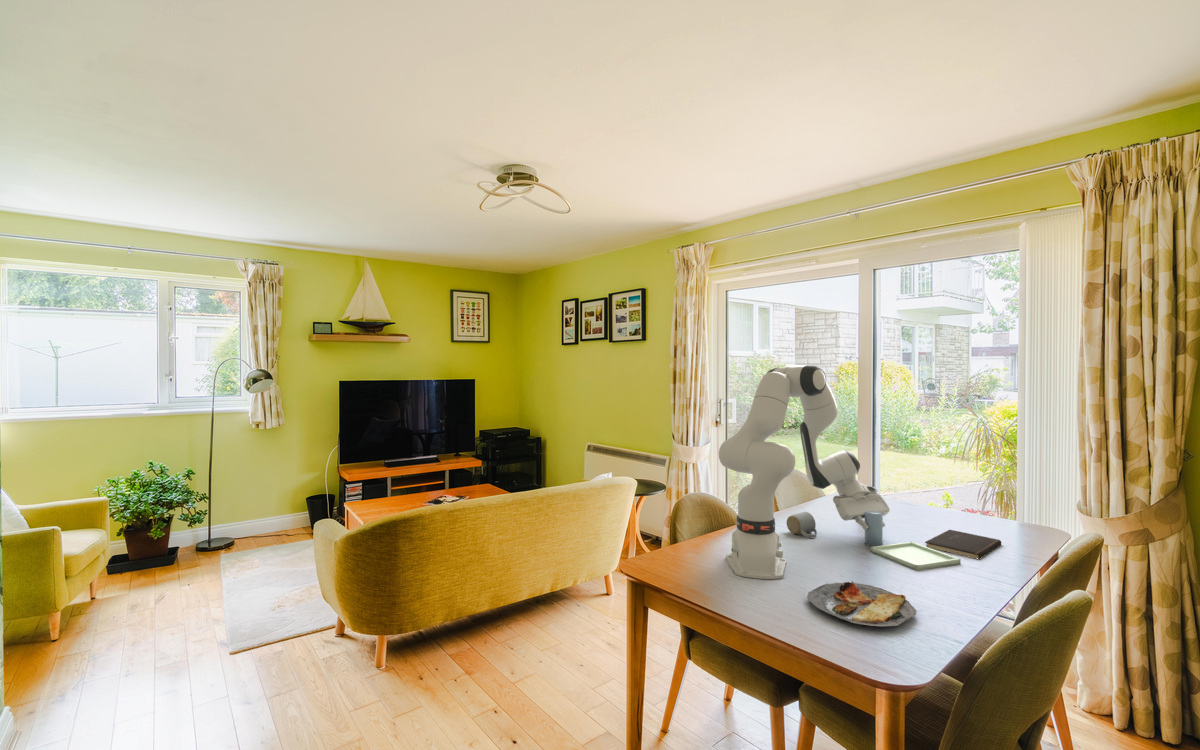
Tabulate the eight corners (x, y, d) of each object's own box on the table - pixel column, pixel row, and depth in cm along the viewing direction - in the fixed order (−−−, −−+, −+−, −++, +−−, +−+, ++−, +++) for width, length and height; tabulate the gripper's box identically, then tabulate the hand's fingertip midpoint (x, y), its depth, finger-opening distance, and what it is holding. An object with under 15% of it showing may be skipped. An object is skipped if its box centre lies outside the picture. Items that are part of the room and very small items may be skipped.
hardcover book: (924, 548, 184) (924, 541, 184) (949, 535, 198) (949, 529, 198) (979, 561, 171) (979, 554, 171) (1001, 546, 185) (1001, 540, 185)
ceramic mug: (784, 531, 201) (785, 511, 201) (800, 529, 205) (800, 509, 205) (806, 540, 192) (806, 519, 192) (822, 537, 195) (822, 516, 195)
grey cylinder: (884, 547, 184) (884, 515, 184) (867, 545, 185) (867, 514, 185) (879, 541, 189) (879, 511, 189) (862, 540, 190) (862, 510, 190)
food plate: (842, 582, 153) (842, 570, 153) (930, 612, 134) (930, 598, 134) (792, 607, 138) (792, 594, 138) (883, 645, 119) (883, 630, 119)
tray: (870, 551, 179) (870, 546, 179) (911, 545, 185) (911, 541, 184) (916, 570, 162) (916, 565, 162) (960, 563, 167) (960, 559, 167)
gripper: (835, 491, 190) (857, 526, 181) (879, 487, 197) (901, 520, 188) (826, 501, 194) (846, 535, 185) (869, 496, 201) (891, 529, 192)
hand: (875, 527), depth 186 cm, fingers closed on grey cylinder, 6 cm apart
